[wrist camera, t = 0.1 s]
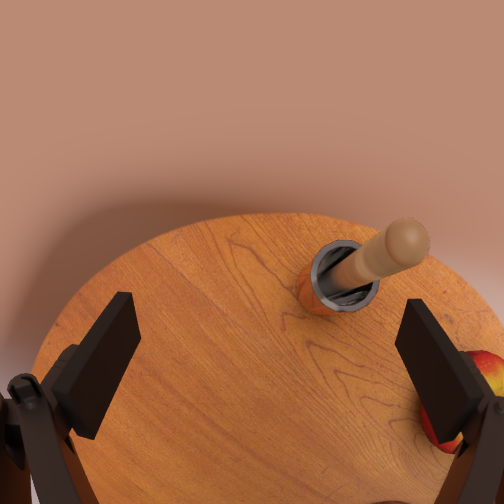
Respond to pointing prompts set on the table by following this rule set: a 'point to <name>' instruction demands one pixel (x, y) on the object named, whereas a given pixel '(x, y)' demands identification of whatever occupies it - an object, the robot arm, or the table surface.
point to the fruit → (498, 377)
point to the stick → (379, 257)
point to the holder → (318, 266)
